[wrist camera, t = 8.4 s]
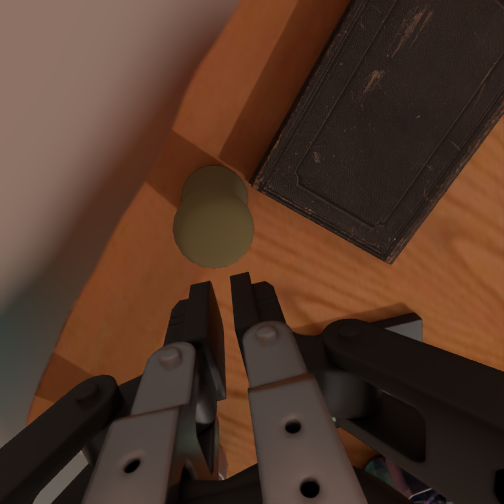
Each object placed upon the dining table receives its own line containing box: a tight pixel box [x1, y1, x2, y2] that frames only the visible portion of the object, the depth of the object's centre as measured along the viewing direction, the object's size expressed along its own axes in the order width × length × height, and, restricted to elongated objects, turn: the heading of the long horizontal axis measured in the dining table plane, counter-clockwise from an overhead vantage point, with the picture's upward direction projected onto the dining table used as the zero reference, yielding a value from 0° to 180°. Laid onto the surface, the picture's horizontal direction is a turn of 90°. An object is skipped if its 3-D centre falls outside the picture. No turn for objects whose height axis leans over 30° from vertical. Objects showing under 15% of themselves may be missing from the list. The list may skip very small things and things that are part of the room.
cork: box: [173, 165, 254, 269], centre depth 25 cm, size 6×6×11 cm
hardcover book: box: [249, 0, 504, 264], centre depth 28 cm, size 16×23×2 cm
